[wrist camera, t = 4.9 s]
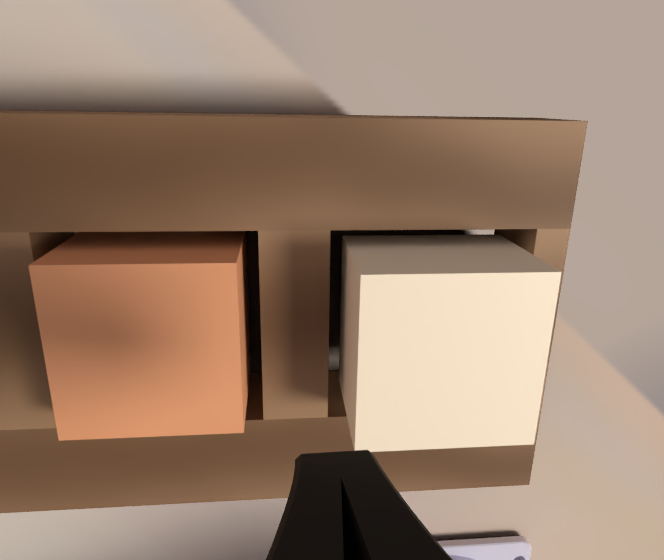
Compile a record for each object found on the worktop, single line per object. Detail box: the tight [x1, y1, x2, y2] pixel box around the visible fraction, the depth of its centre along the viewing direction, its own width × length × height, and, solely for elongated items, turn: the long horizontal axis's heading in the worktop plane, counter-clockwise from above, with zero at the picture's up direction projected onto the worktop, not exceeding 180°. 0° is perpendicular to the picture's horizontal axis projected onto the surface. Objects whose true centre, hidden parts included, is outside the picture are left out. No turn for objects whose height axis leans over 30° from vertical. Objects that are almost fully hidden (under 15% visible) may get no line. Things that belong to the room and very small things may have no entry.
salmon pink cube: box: [28, 231, 251, 441], centre depth 16 cm, size 5×5×4 cm
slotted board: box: [0, 110, 588, 513], centre depth 17 cm, size 12×24×3 cm, turn 89°
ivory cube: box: [339, 235, 562, 452], centre depth 15 cm, size 5×5×4 cm
